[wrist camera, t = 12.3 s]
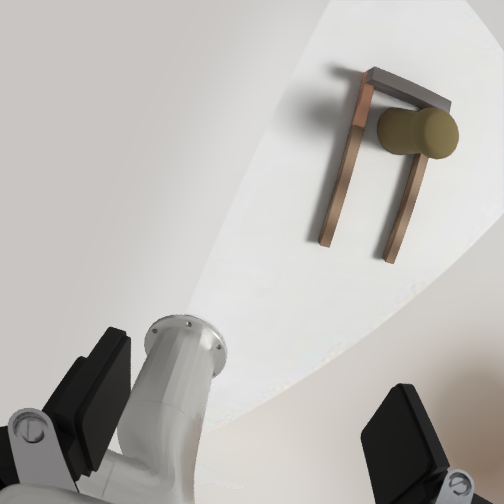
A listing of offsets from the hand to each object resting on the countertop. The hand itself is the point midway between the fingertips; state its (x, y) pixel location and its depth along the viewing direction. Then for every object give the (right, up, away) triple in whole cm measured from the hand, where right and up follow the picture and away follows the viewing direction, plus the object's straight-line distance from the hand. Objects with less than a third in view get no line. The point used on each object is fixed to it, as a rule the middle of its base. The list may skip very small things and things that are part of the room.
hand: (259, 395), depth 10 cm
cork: (+18, +20, +25) cm, 36 cm away
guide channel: (+16, +15, +26) cm, 34 cm away
